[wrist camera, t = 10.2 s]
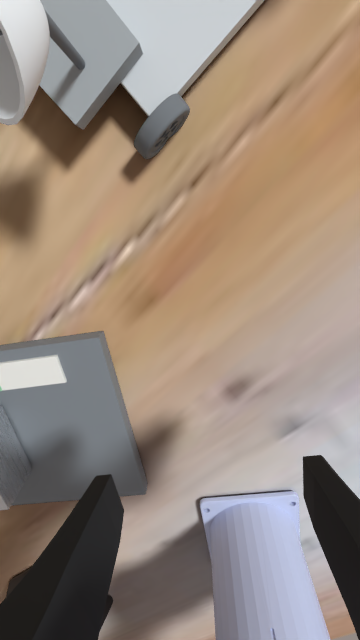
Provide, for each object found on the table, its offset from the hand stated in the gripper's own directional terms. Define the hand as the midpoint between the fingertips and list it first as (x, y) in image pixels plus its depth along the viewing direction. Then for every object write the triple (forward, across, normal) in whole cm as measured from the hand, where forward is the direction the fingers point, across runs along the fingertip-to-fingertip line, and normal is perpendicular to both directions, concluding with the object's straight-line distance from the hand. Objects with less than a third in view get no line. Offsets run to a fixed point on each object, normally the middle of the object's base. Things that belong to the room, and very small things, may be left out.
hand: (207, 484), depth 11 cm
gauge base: (+9, +15, +4) cm, 18 cm away
